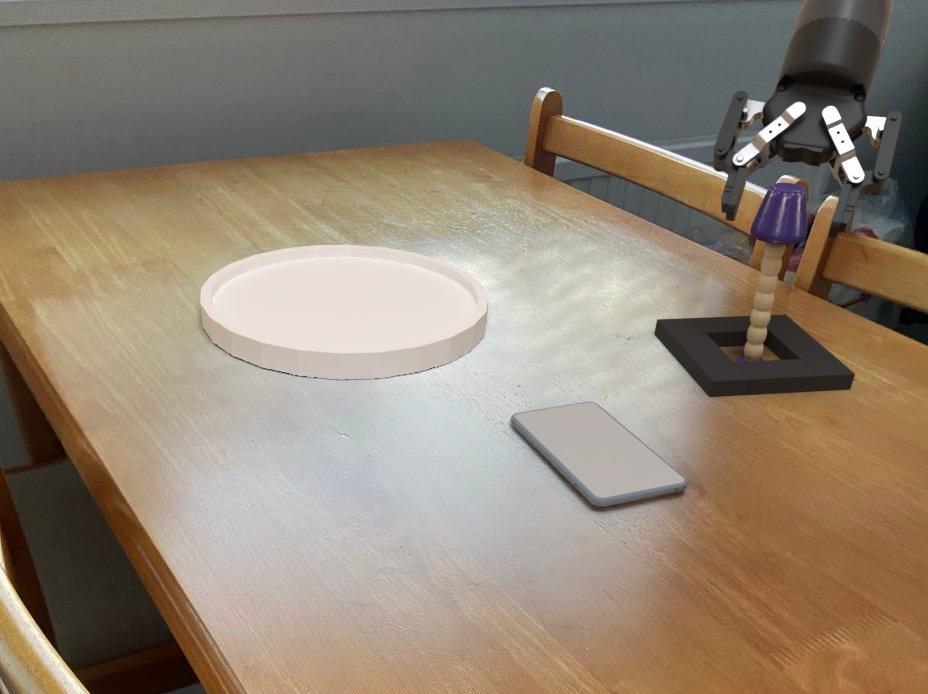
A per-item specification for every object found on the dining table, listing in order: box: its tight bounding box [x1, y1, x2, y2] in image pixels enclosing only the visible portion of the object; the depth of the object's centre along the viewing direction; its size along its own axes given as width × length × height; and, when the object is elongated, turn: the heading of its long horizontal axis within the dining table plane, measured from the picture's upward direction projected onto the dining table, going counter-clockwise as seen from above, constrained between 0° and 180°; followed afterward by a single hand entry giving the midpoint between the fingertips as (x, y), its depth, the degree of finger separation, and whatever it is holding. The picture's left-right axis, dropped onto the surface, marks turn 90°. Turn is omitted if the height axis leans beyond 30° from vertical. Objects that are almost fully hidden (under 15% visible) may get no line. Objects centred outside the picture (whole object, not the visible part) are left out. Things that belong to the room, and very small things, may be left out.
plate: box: [199, 244, 489, 381], centre depth 99 cm, size 28×28×2 cm
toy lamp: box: [734, 182, 808, 362], centre depth 88 cm, size 5×5×17 cm
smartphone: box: [510, 401, 688, 508], centre depth 80 cm, size 8×1×15 cm
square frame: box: [654, 314, 856, 398], centre depth 93 cm, size 13×13×3 cm
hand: (781, 224), depth 84 cm, fingers open, 8 cm apart
